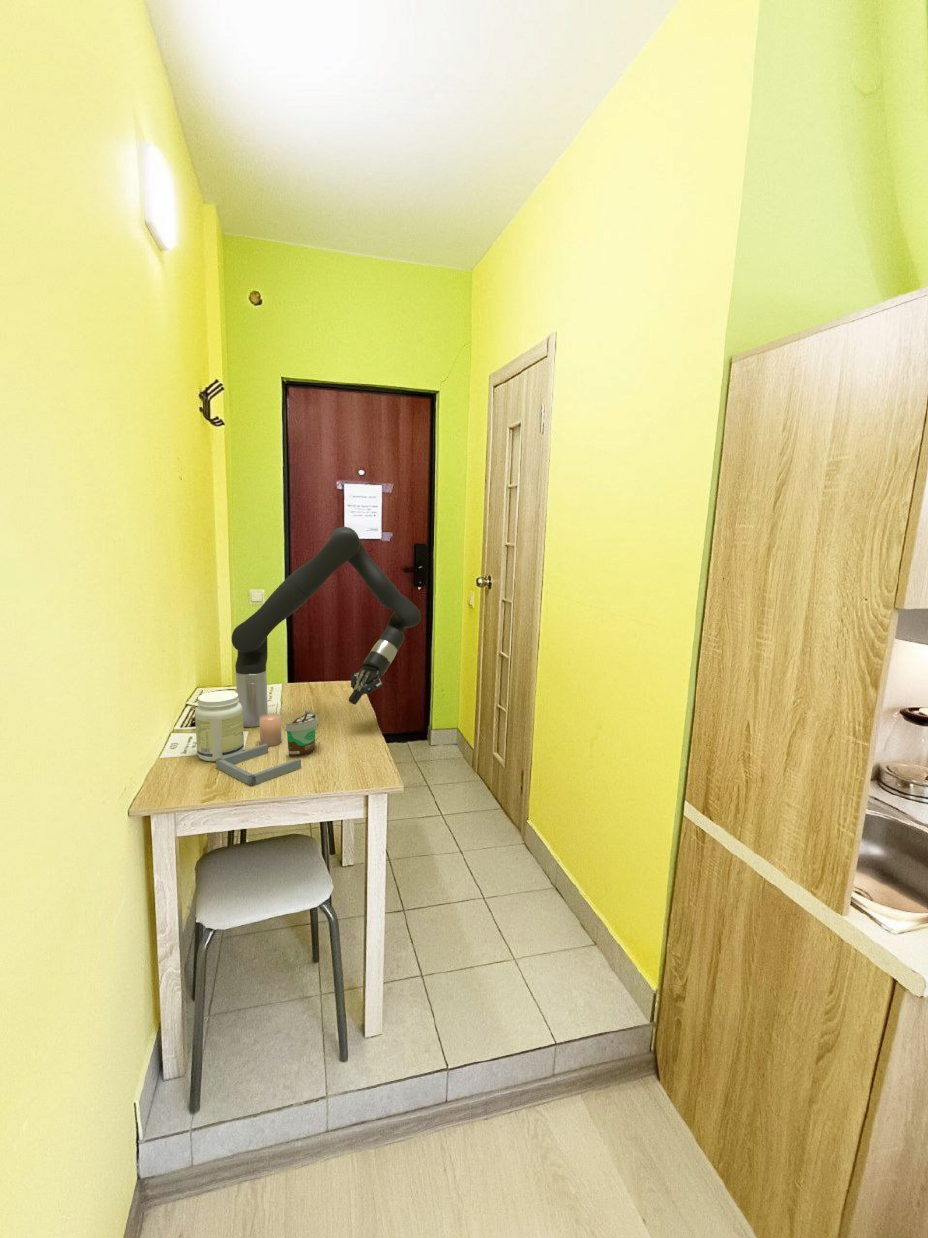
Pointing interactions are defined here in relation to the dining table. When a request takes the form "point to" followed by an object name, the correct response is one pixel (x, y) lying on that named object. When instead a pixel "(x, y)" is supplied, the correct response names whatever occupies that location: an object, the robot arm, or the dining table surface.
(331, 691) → the dining table surface
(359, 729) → the dining table surface
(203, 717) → the supplement tub
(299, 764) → the frame
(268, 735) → the peach rounded cylinder
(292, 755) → the food container
